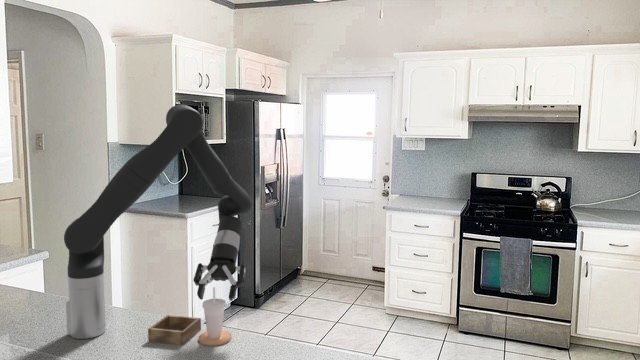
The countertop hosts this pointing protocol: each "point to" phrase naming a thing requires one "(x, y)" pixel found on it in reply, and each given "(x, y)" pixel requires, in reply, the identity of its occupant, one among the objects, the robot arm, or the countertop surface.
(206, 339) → the peach glossy dome
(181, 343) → the crate
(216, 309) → the smoothie
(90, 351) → the countertop surface
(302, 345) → the countertop surface
